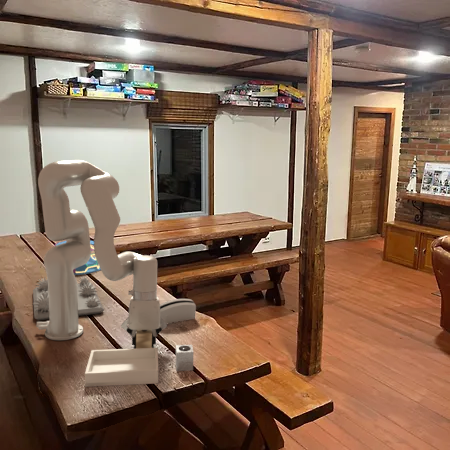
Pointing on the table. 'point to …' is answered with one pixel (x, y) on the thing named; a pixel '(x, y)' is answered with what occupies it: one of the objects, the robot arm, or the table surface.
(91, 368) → the sorting tray
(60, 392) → the table surface
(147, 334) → the maple block
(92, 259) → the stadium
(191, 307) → the grey rounded slab
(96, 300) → the decorative tray
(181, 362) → the grey block
